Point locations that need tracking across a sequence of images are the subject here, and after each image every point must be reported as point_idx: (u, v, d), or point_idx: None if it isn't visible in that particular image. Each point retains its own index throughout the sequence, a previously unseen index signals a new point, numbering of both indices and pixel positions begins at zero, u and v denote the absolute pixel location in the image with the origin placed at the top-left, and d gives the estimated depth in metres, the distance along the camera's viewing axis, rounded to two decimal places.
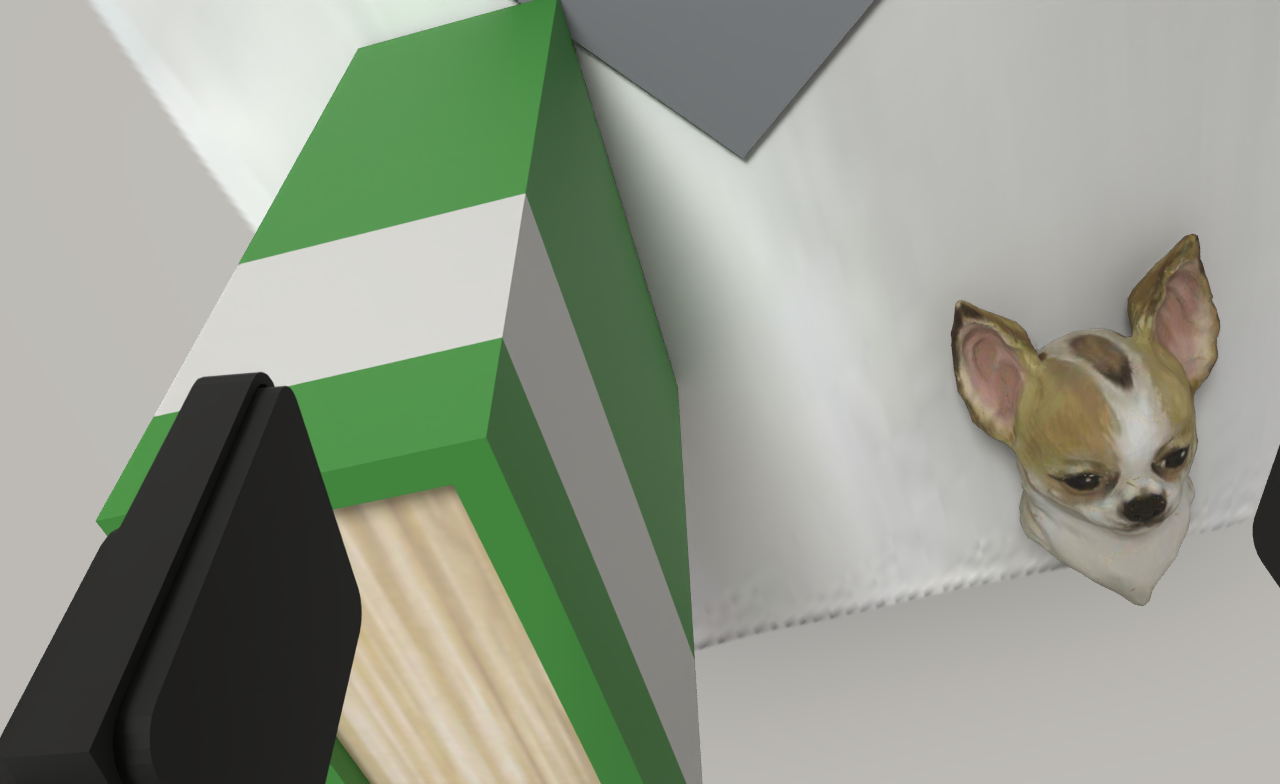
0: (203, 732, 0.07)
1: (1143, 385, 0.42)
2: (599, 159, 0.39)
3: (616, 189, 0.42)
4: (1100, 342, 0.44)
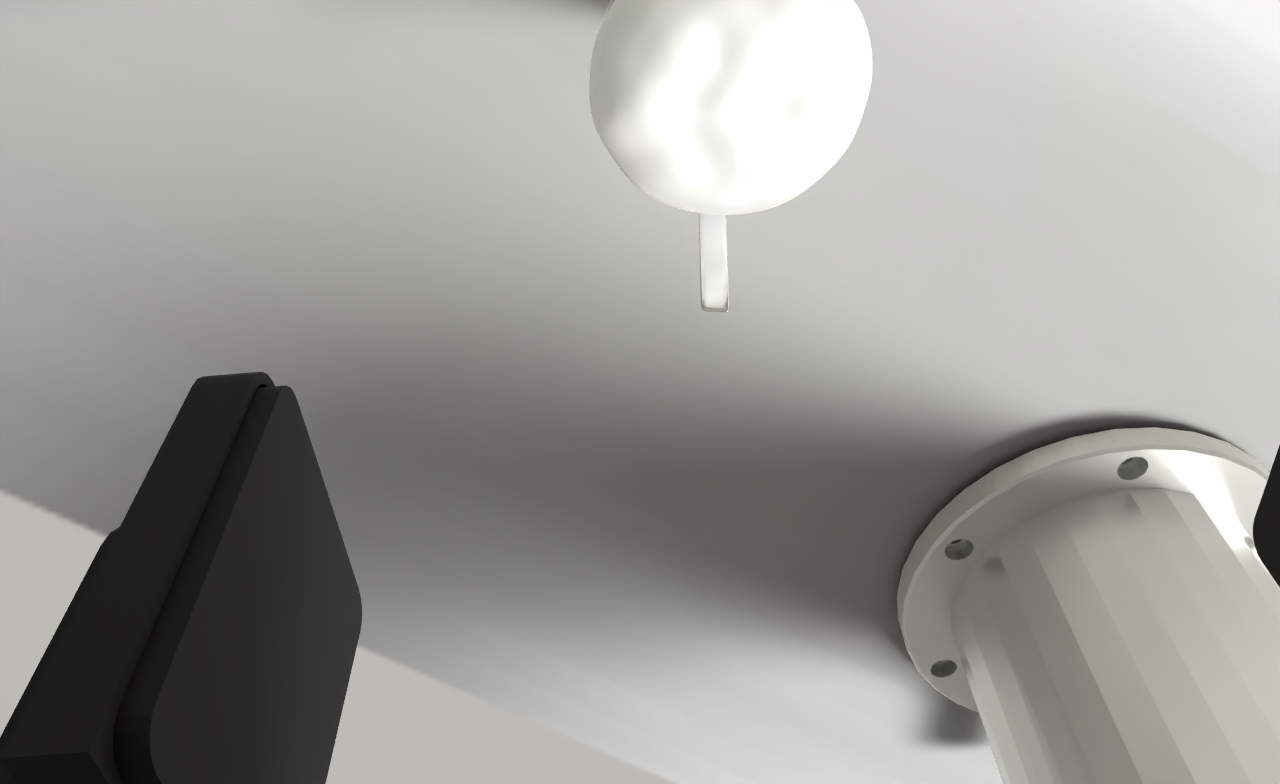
0: (203, 732, 0.07)
1: None
2: None
3: None
4: None
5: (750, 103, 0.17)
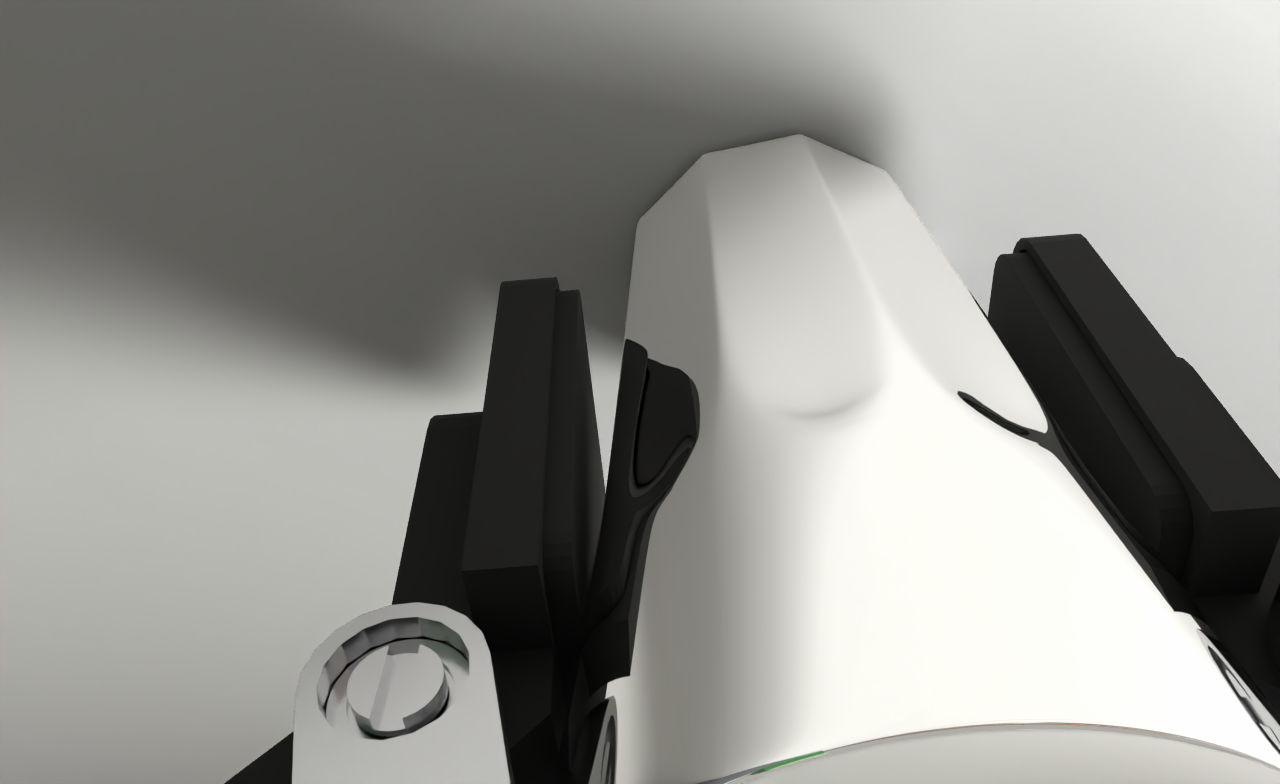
0: (582, 571, 0.08)
1: None
2: None
3: None
4: None
5: None
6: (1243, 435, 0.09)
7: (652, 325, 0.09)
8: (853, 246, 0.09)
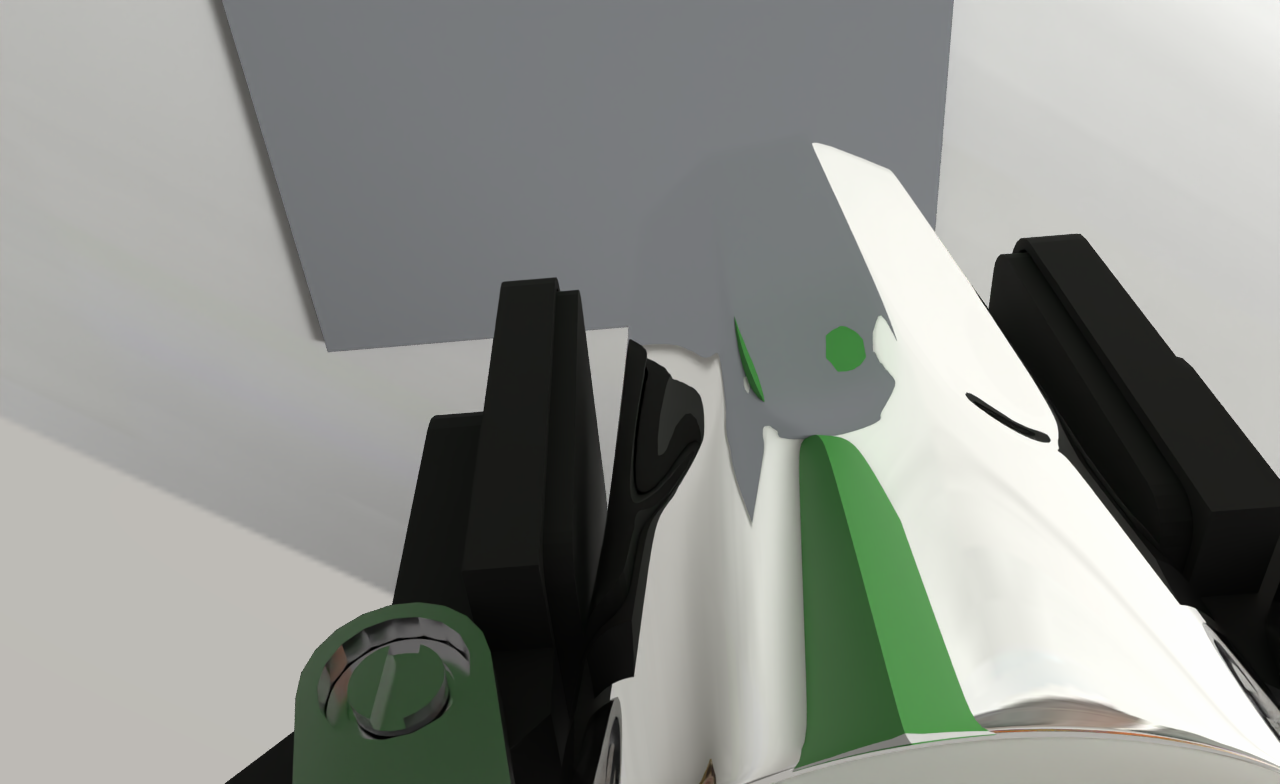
0: (583, 570, 0.08)
1: None
2: None
3: None
4: None
5: None
6: (1243, 435, 0.09)
7: (656, 326, 0.09)
8: (859, 246, 0.09)
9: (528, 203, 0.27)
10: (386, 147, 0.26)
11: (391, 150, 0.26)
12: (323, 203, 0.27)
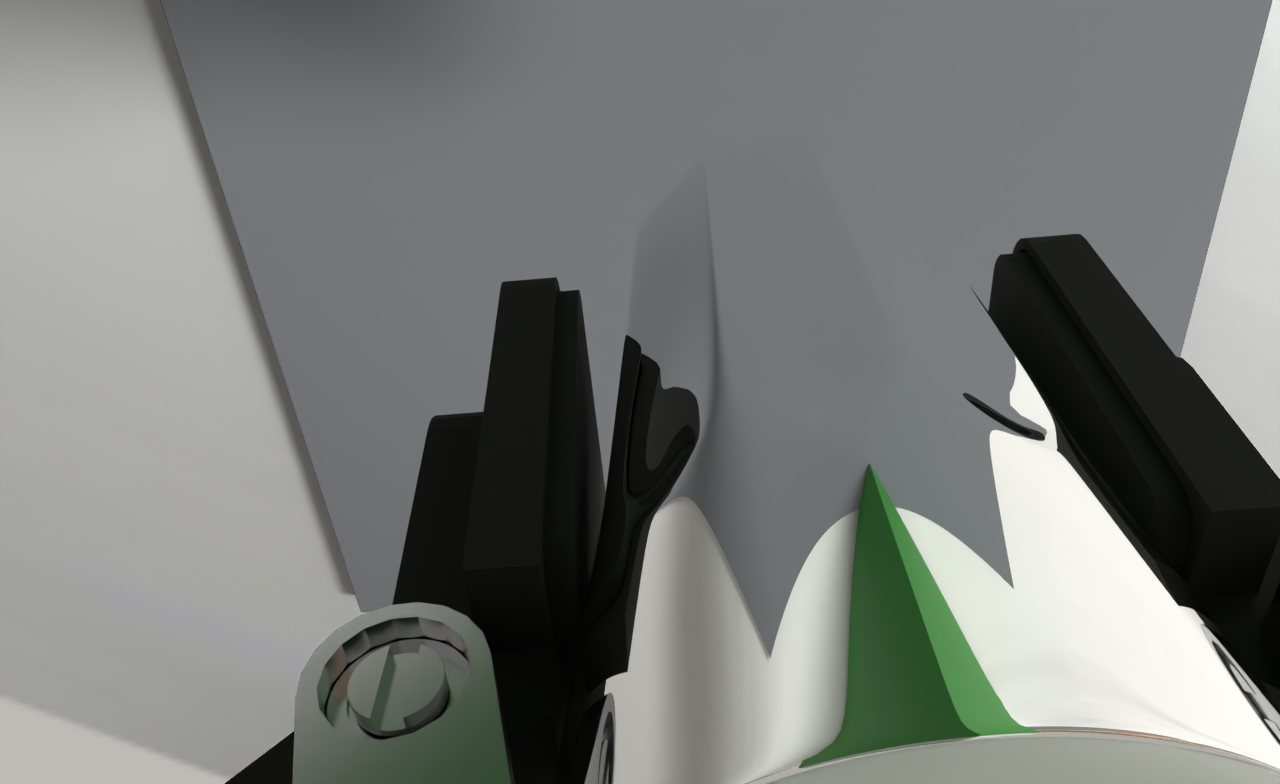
0: (583, 571, 0.08)
1: None
2: None
3: None
4: None
5: None
6: (1243, 435, 0.09)
7: (652, 325, 0.09)
8: (857, 244, 0.09)
9: None
10: (447, 387, 0.20)
11: (453, 390, 0.20)
12: (361, 450, 0.20)
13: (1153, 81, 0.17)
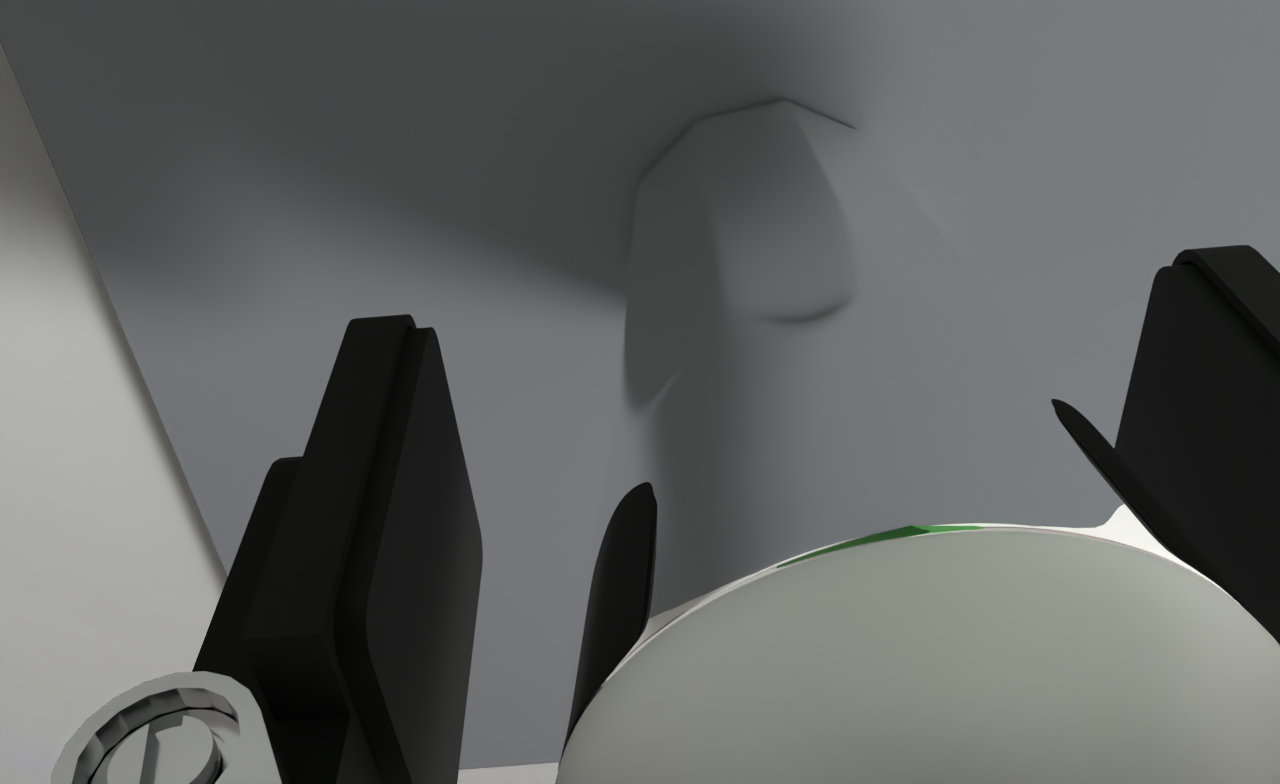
0: (395, 631, 0.08)
1: None
2: None
3: None
4: None
5: None
6: None
7: (653, 266, 0.10)
8: (834, 188, 0.10)
9: None
10: None
11: None
12: None
13: None
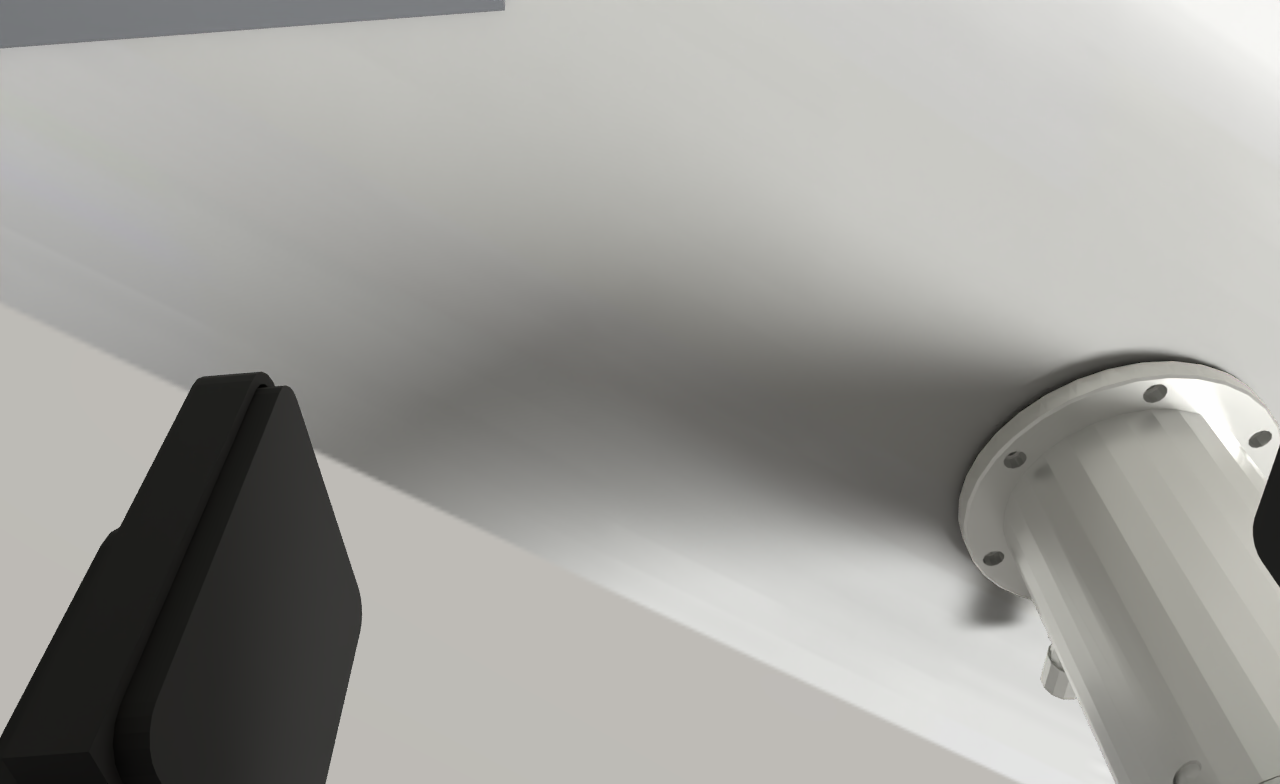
0: (203, 732, 0.07)
1: None
2: None
3: None
4: None
5: None
6: None
7: None
8: None
9: None
10: None
11: None
12: None
13: None
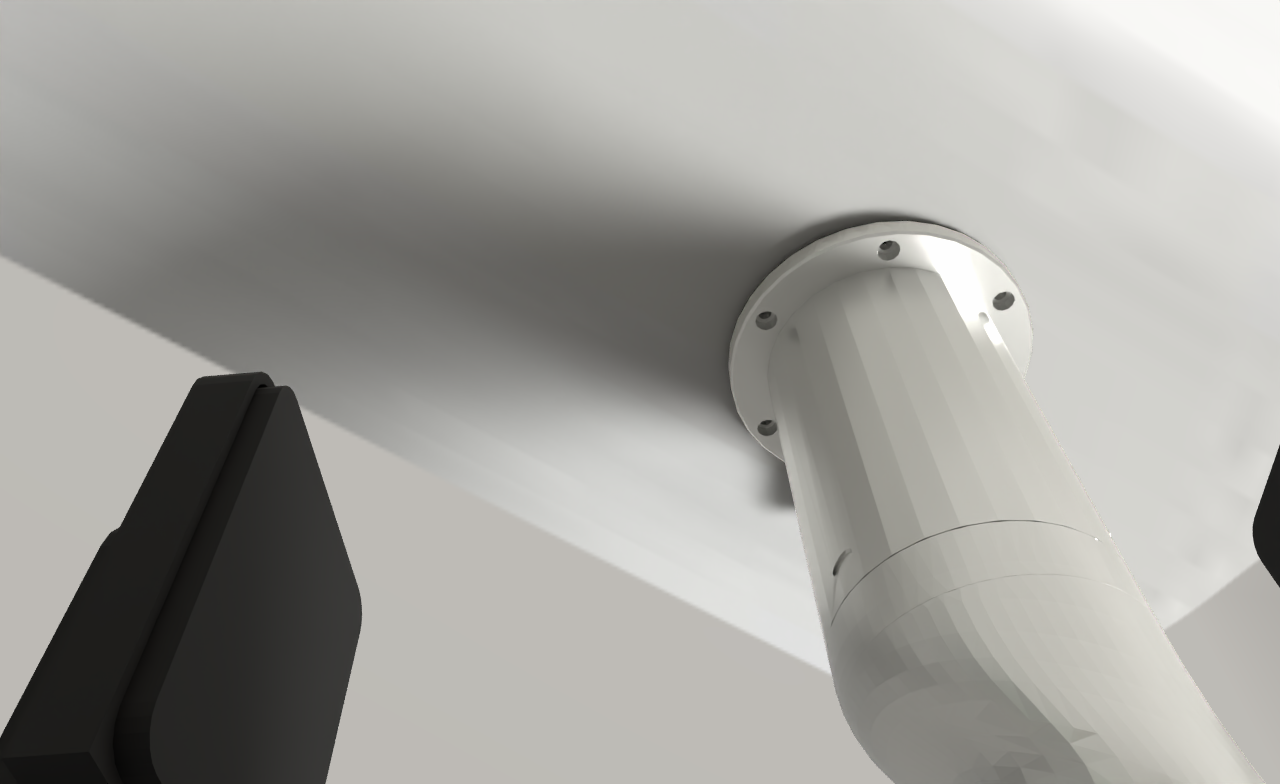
0: (203, 732, 0.07)
1: None
2: None
3: None
4: None
5: None
6: None
7: None
8: None
9: None
10: None
11: None
12: None
13: None
